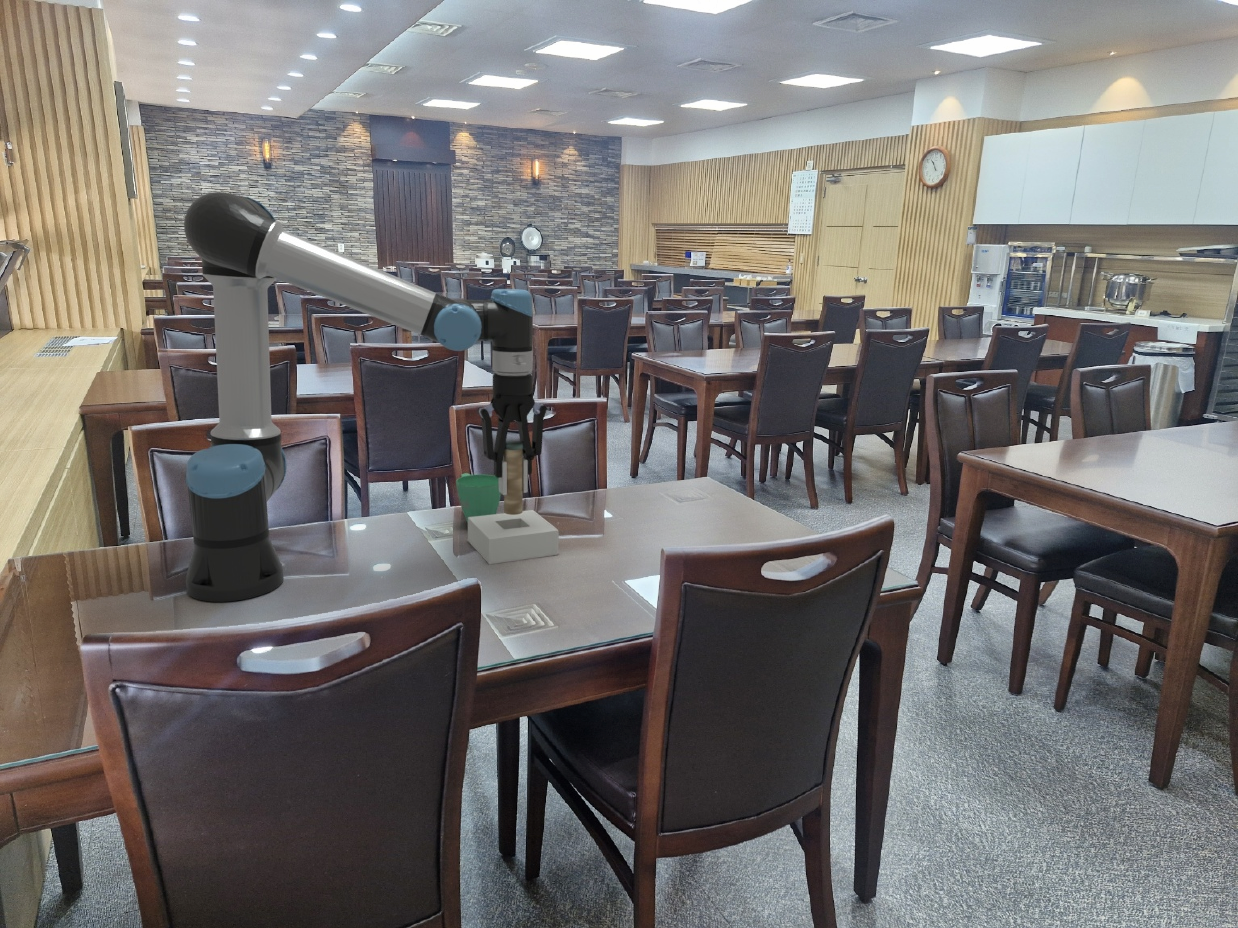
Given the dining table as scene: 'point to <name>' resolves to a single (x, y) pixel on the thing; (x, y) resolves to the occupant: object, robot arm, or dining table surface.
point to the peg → (513, 478)
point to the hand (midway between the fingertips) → (513, 491)
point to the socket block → (512, 536)
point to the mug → (478, 494)
